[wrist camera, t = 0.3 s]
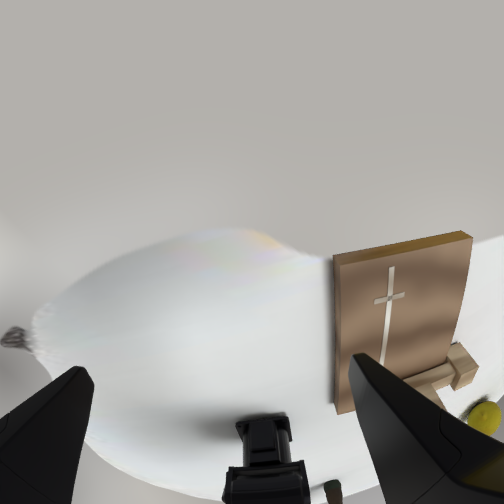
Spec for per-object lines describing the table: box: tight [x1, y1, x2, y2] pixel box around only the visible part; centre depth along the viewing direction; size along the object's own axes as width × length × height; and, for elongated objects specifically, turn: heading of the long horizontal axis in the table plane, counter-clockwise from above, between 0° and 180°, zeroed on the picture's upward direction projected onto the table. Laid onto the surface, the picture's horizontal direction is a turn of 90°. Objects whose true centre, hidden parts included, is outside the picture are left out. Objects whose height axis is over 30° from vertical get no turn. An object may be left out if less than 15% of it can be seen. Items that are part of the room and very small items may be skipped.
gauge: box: [403, 342, 479, 411], centre depth 24 cm, size 3×13×9 cm, turn 100°
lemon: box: [467, 401, 501, 436], centre depth 33 cm, size 11×8×8 cm
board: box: [333, 230, 473, 415], centre depth 25 cm, size 20×14×2 cm
